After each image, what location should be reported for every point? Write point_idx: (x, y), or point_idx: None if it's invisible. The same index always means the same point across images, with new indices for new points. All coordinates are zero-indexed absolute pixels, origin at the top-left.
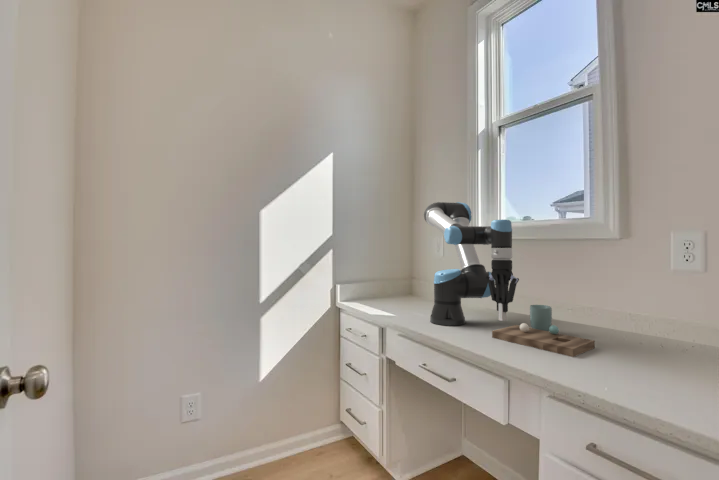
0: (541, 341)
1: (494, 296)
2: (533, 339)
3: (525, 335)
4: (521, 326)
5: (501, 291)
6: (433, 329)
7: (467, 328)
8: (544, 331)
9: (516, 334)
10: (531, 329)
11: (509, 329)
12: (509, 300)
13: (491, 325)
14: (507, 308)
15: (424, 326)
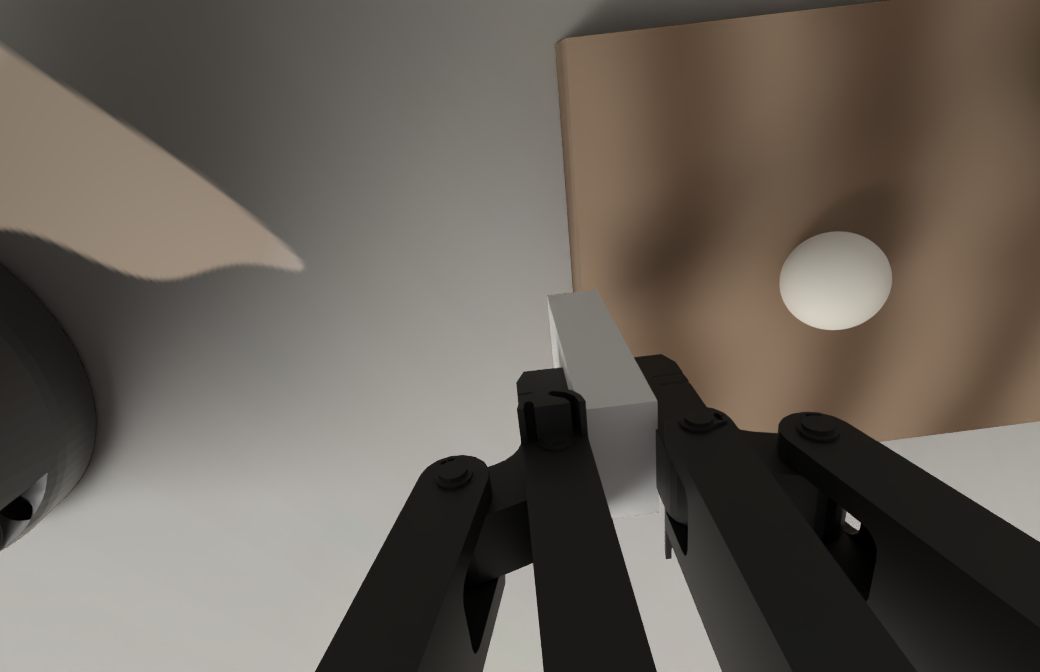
0: (1031, 413)
1: (490, 615)
2: (965, 417)
3: (868, 367)
4: (830, 329)
5: (643, 647)
6: (171, 631)
7: (233, 397)
8: (960, 39)
9: (799, 405)
10: (813, 86)
11: (657, 308)
12: (851, 549)
13: (192, 43)
14: (685, 385)
15: (48, 634)
